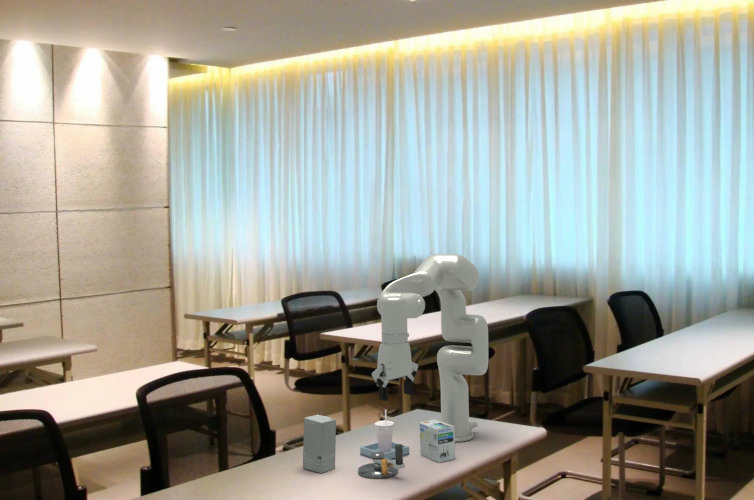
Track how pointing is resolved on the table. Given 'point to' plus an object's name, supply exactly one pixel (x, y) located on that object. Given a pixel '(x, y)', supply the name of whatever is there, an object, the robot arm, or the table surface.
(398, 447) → the crank
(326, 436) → the skincare box
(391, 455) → the tray
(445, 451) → the light bulb box
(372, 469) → the crank base
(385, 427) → the smoothie
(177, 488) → the table surface
